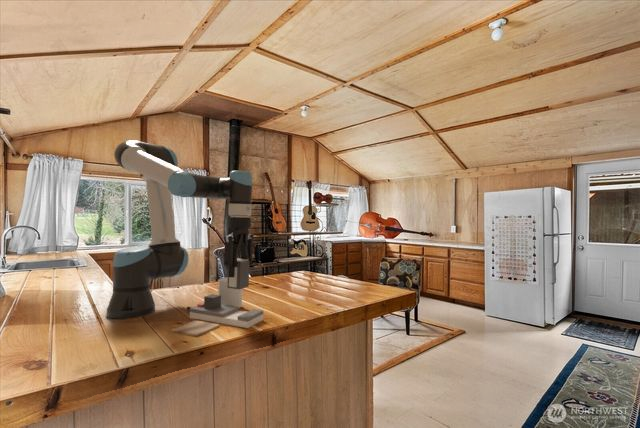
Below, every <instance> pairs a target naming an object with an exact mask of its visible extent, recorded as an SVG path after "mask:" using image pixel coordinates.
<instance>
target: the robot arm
mask: <svg viewBox="0 0 640 428" xmlns="http://www.w3.org/2000/svg"><path fill="white" fill-rule="evenodd" d="M113 156H114V160H115V162H116V163H117V165H118V166H120V167H121V168H122V169H124V170H125V171H128V172H132V173H138V174H140V176H141V177H140V178H141V179H142V180H143V181H144V182H145V184H146V191H147V192H146V193H147V202H148V213H149V223H150V224H149V225H150V232H151V242H150V243H149V244H148V246H147V245H138V246H130V247H125V248H121V249H119V250H117V251H116V252H115V253H114V255H113V261H112V270H113V271H112V295H111V296H110V299H109V302H108V305H107V308H106V317H108V318H110V319H116V320H118V319H120V320H121V319H123V320H124V319H133V318H139V317H144V316H146V315H149V314H152V313H154V312H155V311H156V303H155V301H154V297H153V295H152V292H151V281H153V280H160V279H164V278H165V279H166V278H173V277H176V276H179V275H181V274H183V273H184V272H185V270H186V269H187V267H188V264H189V254H188V250H187V249H186V248H185V247H184V246H182V245H181V241H180V240H179V239H177V237H176V228H175V218H174V210H173V202H172V195H173V196H176V197H181V198H200V199H209V200H215V201H216V200H228V216H229V218H228V228H229V229H230V233H229V234H228V235H224V236H223V240H224V256H223V257H224V259H223V266H225V267H227V268H228V267H229V287H237V267H236V262H237V258H239V256H238V255H239V254H240V259H249V266H250V265H251V264H252V262H253V243H254V242H253V240H254V234H252V233H250V231H249V229H251V228H252V218H251V216H252V198H253V197H252V195H253V186H254V184H253V174H252V173H251V172H250V171H246V170H231V171H230V172H229V177H215V176H210V175H203V174H195V173H192V172H189V171H187V170H185V169H183V168H180V167H179V162H178V157H177V155H176V153H175V151H173V149H171V148H169V147H166V146H164V145H161V144H153V143H148V142H145V141H144V142H143V141H139V140H134V139H133V140H125V141H123V142H121V143H119V144H118V145H117V147H115V150H114V154H113Z"/></svg>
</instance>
